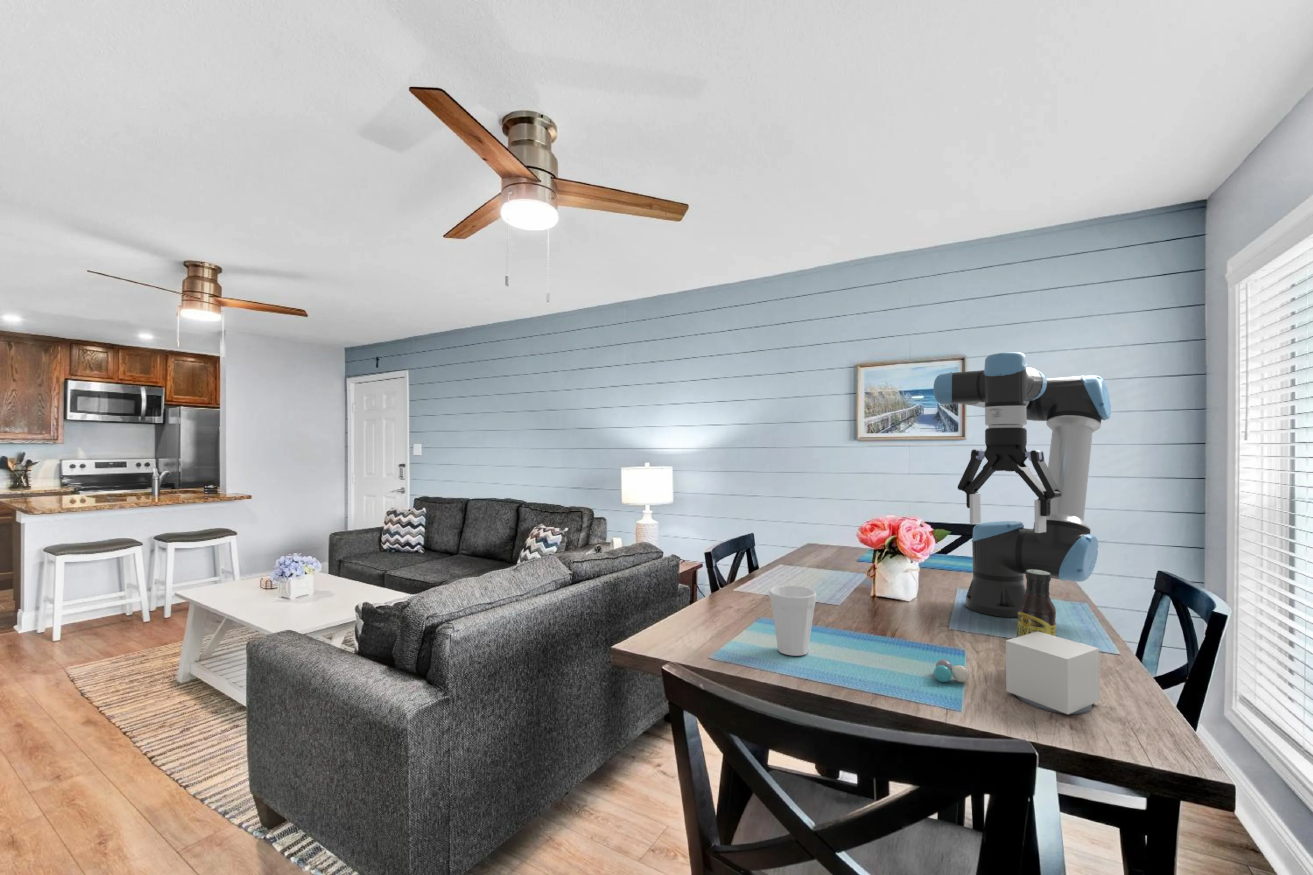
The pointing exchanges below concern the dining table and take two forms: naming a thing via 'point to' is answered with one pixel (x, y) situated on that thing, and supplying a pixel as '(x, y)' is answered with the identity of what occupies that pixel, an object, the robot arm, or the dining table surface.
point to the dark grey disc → (1081, 711)
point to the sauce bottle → (1037, 606)
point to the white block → (1053, 671)
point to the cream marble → (960, 673)
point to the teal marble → (942, 673)
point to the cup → (792, 617)
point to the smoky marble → (945, 664)
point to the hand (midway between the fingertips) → (1006, 527)
